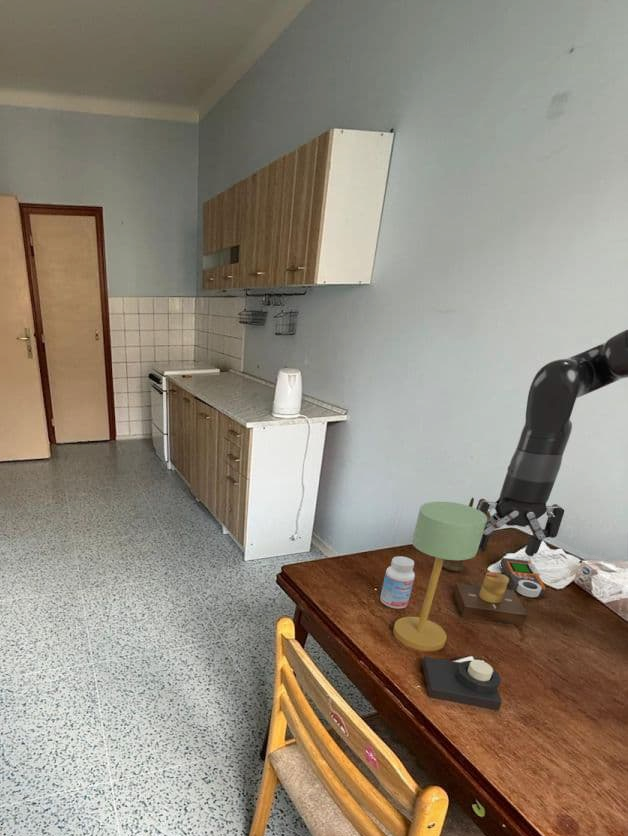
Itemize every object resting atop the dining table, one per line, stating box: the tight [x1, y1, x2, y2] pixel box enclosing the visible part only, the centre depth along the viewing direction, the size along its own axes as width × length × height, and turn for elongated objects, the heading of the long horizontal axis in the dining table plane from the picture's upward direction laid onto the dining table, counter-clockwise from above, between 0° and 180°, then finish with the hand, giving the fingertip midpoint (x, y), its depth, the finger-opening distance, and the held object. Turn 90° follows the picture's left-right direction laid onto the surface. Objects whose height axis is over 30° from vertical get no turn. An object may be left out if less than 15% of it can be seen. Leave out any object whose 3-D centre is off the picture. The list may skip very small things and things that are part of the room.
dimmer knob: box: [479, 571, 509, 603], centre depth 105 cm, size 4×4×6 cm
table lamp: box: [392, 501, 487, 652], centre depth 93 cm, size 11×11×28 cm
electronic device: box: [499, 557, 547, 598], centre depth 117 cm, size 7×3×15 cm
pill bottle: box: [379, 555, 416, 610], centre depth 108 cm, size 6×6×11 cm
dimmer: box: [452, 582, 528, 627], centre depth 107 cm, size 12×10×3 cm
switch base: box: [421, 656, 503, 711], centre depth 86 cm, size 11×9×4 cm
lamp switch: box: [467, 659, 494, 681], centre depth 84 cm, size 4×4×2 cm
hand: (504, 552), depth 95 cm, fingers open, 8 cm apart
